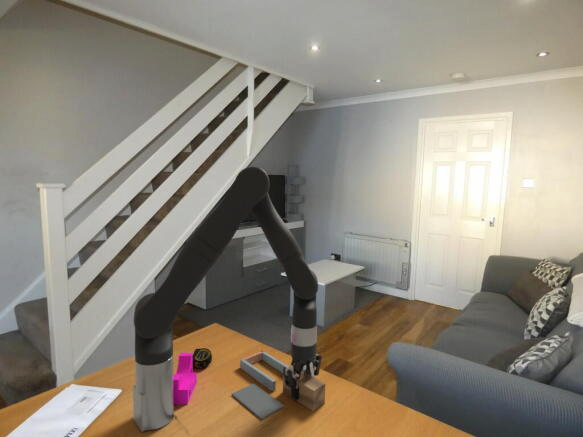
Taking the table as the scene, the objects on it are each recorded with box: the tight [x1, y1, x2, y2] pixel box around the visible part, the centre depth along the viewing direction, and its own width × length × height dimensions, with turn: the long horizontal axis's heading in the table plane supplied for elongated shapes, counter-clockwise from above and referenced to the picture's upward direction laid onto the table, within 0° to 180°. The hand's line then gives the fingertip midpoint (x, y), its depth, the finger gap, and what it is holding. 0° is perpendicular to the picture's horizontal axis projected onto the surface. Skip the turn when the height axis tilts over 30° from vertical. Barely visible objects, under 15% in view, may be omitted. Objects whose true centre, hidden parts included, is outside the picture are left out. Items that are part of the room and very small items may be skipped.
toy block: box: [173, 352, 198, 405], centre depth 103 cm, size 15×6×8 cm, turn 2°
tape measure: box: [192, 347, 213, 369], centre depth 116 cm, size 7×7×4 cm
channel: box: [239, 350, 290, 392], centre depth 112 cm, size 10×17×3 cm, turn 43°
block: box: [282, 373, 326, 412], centre depth 100 cm, size 5×12×6 cm, turn 45°
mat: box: [231, 383, 285, 421], centre depth 98 cm, size 8×14×1 cm, turn 43°
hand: (302, 394), depth 100 cm, fingers closed on block, 5 cm apart
